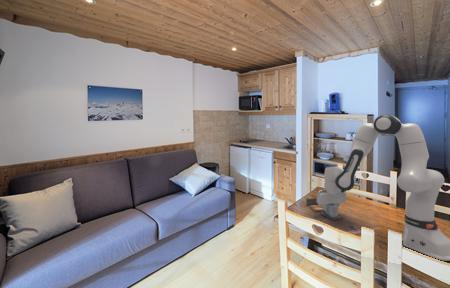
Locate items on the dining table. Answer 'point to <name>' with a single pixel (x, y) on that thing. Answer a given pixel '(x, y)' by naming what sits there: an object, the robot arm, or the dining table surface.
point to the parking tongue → (329, 216)
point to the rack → (314, 202)
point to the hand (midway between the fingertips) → (331, 209)
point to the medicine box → (332, 210)
